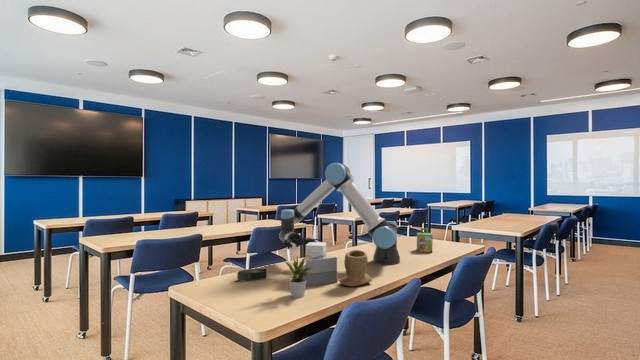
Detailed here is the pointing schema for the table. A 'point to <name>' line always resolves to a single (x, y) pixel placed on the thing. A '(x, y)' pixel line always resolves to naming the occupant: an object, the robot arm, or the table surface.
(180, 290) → the table surface
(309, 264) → the step
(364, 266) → the stone cup
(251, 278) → the mobile phone
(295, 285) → the house plant
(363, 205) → the robot arm
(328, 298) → the table surface
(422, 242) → the green juice carton
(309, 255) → the ink box
